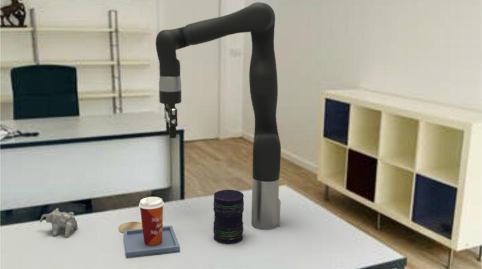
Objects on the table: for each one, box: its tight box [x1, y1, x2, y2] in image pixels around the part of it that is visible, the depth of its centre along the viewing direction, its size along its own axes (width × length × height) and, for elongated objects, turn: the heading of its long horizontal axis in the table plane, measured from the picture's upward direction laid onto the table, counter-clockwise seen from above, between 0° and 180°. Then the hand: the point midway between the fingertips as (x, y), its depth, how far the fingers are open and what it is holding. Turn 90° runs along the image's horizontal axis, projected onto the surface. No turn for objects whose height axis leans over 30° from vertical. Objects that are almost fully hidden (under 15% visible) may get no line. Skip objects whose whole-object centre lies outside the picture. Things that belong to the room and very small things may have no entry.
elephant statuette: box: [39, 207, 79, 238], centre depth 158 cm, size 9×12×8 cm
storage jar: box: [212, 189, 245, 245], centre depth 156 cm, size 10×10×15 cm
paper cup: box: [138, 196, 165, 246], centre depth 150 cm, size 8×8×14 cm
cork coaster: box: [117, 221, 143, 234], centre depth 163 cm, size 9×9×1 cm
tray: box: [123, 225, 181, 259], centre depth 152 cm, size 16×16×2 cm
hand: (171, 135), depth 168 cm, fingers open, 8 cm apart
